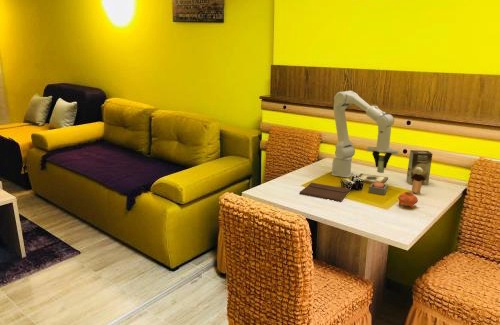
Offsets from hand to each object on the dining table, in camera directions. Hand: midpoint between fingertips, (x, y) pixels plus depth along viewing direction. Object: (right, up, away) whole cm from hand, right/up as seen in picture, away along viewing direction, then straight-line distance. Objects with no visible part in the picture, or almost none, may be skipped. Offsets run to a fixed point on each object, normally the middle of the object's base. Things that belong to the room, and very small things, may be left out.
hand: (380, 167), depth 199 cm
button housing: (-3, -12, -6) cm, 14 cm away
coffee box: (+20, -8, +6) cm, 23 cm away
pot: (+4, -17, -24) cm, 29 cm away
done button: (-3, -10, -7) cm, 13 cm away
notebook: (-29, -13, -8) cm, 32 cm away
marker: (0, -2, +1) cm, 2 cm away
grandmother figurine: (+14, -12, -8) cm, 20 cm away
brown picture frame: (-2, -7, +10) cm, 12 cm away
